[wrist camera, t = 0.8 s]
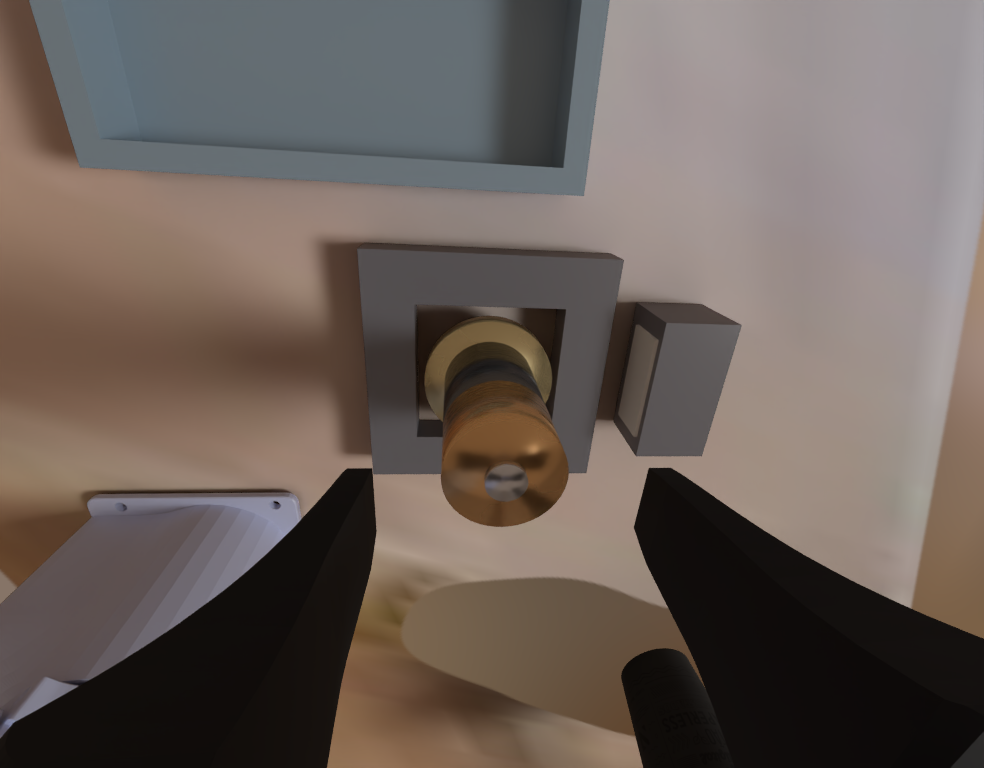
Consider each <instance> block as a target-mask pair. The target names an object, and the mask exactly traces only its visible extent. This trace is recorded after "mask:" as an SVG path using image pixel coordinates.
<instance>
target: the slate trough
mask: <svg viewBox="0 0 984 768" xmlns="http://www.w3.org/2000/svg"><path fill="white" fill-rule="evenodd" d="M29 2H30V5H31V9H32V12H33V15H34V18H35V22H36V25H37V28H38V32H39V35H40V38H41V41H42V45H43V48H44V51H45V54H46V58H47V61H48V64H49V68H50V71H51V74H52V77H53V81H54V84H55V87H56V91H57V94H58V97H59V100H60V104H61V107H62V110H63V113H64V117H65V120H66V123H67V127H68V130H69V133H70V136H71V140H72V143H73V146H74V149H75V153H76V156H77V159H78V163H79V166H80V167H83V168H101V169H119V170H136V171H154V172H171V173H189V174H206V175H224V176H241V177H259V178H276V179H294V180H311V181H329V182H346V183H364V184H382V185H399V186H417V187H434V188H452V189H469V190H487V191H504V192H522V193H539V194H557V195H574V196H584V191H585V183H586V176H587V168H588V160H589V153H590V145H591V138H592V130H593V122H594V115H595V107H596V99H597V92H598V84H599V77H600V69H601V61H602V54H603V46H604V38H605V31H606V23H607V16H608V8H609V0H29Z"/></svg>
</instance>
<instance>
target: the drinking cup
mask: <svg viewBox="0 0 984 768" xmlns="http://www.w3.org/2000/svg"><path fill="white" fill-rule="evenodd" d="M621 678H622V683H623V687H624V691H625V695H626V699H627V704H628V707H629V711H630V715H631V720H632V724H633V728H634V732H635V736H636V740H637V744H638V748H639V752H640V756H641V760H642V764H643V768H735V767H734V764H733V761H732V758H731V755H730V753H729V750H728V747H727V744H726V742H725V739H724V736H723V733H722V731H721V728H720V725H719V722H718V720H717V717H716V714H715V711H714V709H713V706H712V704H711V701H710V698H709V696H708V693H707V691H706V689H705V687H704V686H703V684H702V682H701V681H700V679H699V677H698V675H697V674H696V672H695V670H694V669H693V667H692V665H691V664H690V662H689V660H688V659H687V657H686V656H685V655H684V654H683V653H681V652H679V651H677V650H673V649H666V648H665V649H654V650H650V651H647V652H644V653H642V654H640V655H638V656H636V657H635V658H633V659H632V660H631V661H629V662H628V663H627V664H626V666H625V667H624V669H623V671H622V675H621Z"/></svg>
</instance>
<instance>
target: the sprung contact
mask: <svg viewBox="0 0 984 768" xmlns="http://www.w3.org/2000/svg"><path fill="white" fill-rule="evenodd" d="M482 342H498V343H503V344H506V345H509V346H511V347H513V348H514V349H516V350H517V351H519V352H520V353H521V354H522V355H523V356H524V358H525V359H526V360H527V362H528V363H529V366H530V368H531V370H532V373H533V375H534V378H535V380H536V383H537V385H538V388H539V390H540V393H541V395H542V398H543V400H544V403H545V404H546V402H547V400H548V397H549V394H550V390H551V385H552V371H551V366H550V362H549V359H548V357H547V354H546V353H545V351H544V349H543V347H542V345H541V344H540V342H539V340H538V339H537V338H536V337H535V335H534V334H533V333H532V332H530V331H529V330H528V329H527V328H525V327H524V326H523V325H521V324H519V323H517V322H515V321H513V320H510V319H507V318H503V317H497V316H481V317H474V318H471V319H467V320H465V321H462V322H460V323H458V324H456V325H454V326H453V327H451V328H450V329H449V330H447V331H446V332H445V333H444V334H443V335H442V336H441V337H440V338H439V339H438V340H437V342H436V343H435V344H434V346H433V348H432V350H431V352H430V354H429V357H428V359H427V364H426V370H425V381H424V384H425V392H426V397H427V400H428V402H429V405H430V406H431V408H432V410H433V412H434V413H435V414H436V415H437V417H438V418H439V419H440V420H441V421H442V422H443V409H444V382H445V375H446V371H447V369H448V366H449V365H450V363H451V361H452V360H453V359H454V357H455V356H456V355H457V354H458V353H460V352H461V351H462V350H464V349H466V348H467V347H469V346H472V345H474V344H477V343H482Z"/></svg>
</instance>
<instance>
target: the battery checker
mask: <svg viewBox="0 0 984 768" xmlns="http://www.w3.org/2000/svg"><path fill="white" fill-rule="evenodd" d="M357 253H358V267H359V281H360V295H361V309H362V323H363V337H364V351H365V364H366V378H367V392H368V406H369V420H370V434H371V448H372V462H373V474H441V466H442V437H443V422H442V421H441V420H419V387H418V330H417V304H418V305H450V306H481V307H513V308H545V309H557V314H556V322H555V331H554V339H553V347H552V356H551V364H550V366H551V371H552V385H551V390H550V394H549V397H548V400H547V402H546V407H547V410H548V412H549V415H550V417H551V420H552V422H553V425H554V427H555V430H556V432H557V435H558V437H559V440H560V442H561V444H562V447H563V449H564V452H565V454H566V457H567V461H568V467H569V473H586V472H587V466H588V460H589V455H590V449H591V443H592V438H593V432H594V426H595V421H596V415H597V409H598V404H599V398H600V392H601V387H602V381H603V375H604V370H605V364H606V358H607V353H608V347H609V341H610V336H611V330H612V324H613V319H614V313H615V307H616V302H617V296H618V290H619V285H620V279H621V273H622V268H623V262H624V260H623V259H621V258H619V257H617V256H615V255H613V254H607V253H585V252H562V251H540V250H517V249H495V248H472V247H450V246H427V245H405V244H382V243H364V244H362V245H361V246H360V247H358V248H357ZM741 326H742V325H740V324H738V323H737V322H735V321H733V320H731V319H729V318H727V317H725V316H723V315H721V314H719V313H717V312H715V311H714V310H712V309H710V308H708V307H706V306H704V305H702V304H675V303H645V302H637V303H636V309H635V314H634V319H633V324H632V329H631V334H630V339H629V344H628V349H627V354H626V360H625V365H624V370H623V375H622V380H621V385H620V390H619V395H618V400H617V405H616V410H615V416H614V421H613V422H614V423H615V425H616V426H617V428H618V429H619V431H620V432H621V434H622V435H623V437H624V438H625V440H626V442H627V443H628V445H629V446H630V448H631V449H632V451H633V452H634V454H635V455H636V456H702V454H703V450H704V447H705V444H706V441H707V437H708V434H709V431H710V427H711V424H712V421H713V418H714V414H715V411H716V408H717V405H718V401H719V398H720V395H721V391H722V388H723V385H724V382H725V378H726V375H727V372H728V369H729V365H730V362H731V359H732V355H733V352H734V349H735V346H736V342H737V339H738V336H739V332H740V329H741Z"/></svg>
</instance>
